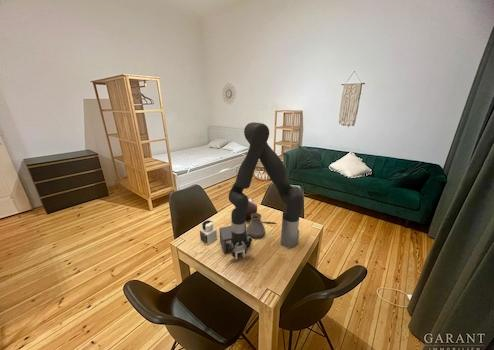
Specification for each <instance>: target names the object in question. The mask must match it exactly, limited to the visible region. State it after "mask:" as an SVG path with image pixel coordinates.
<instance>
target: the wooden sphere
mask: <svg viewBox="0 0 494 350" xmlns="http://www.w3.org/2000/svg"><path fill="white" fill-rule="evenodd" d="M248 200H249V204H248V208H247V212H246V221H248V220H251V219H252V218H251V215H252V214H253V213H258V205H257V203H256V201H255V200H254V199H252V198H250V197H248Z"/></svg>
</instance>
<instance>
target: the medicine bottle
mask: <svg viewBox="0 0 494 350" xmlns="http://www.w3.org/2000/svg"><path fill="white" fill-rule="evenodd" d="M201 225H202V228H201V229H199V236H200V237H199V239H200V241H202V242H203V243H205V245H210V244H211V243H213V242H214V241H216V240H218V235H217V233H218V232H217V229H216V228H215V227H214V223H213V220H209V219H208V220H205V221H203V222H202V224H201Z"/></svg>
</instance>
